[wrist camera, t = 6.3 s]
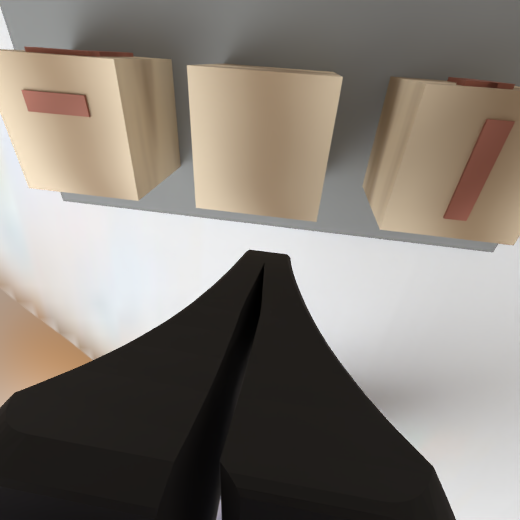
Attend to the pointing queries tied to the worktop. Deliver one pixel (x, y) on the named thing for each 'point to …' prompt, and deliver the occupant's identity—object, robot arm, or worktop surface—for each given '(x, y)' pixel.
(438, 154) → the block one
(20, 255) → the worktop surface
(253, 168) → the plain block
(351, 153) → the slate mat
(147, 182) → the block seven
